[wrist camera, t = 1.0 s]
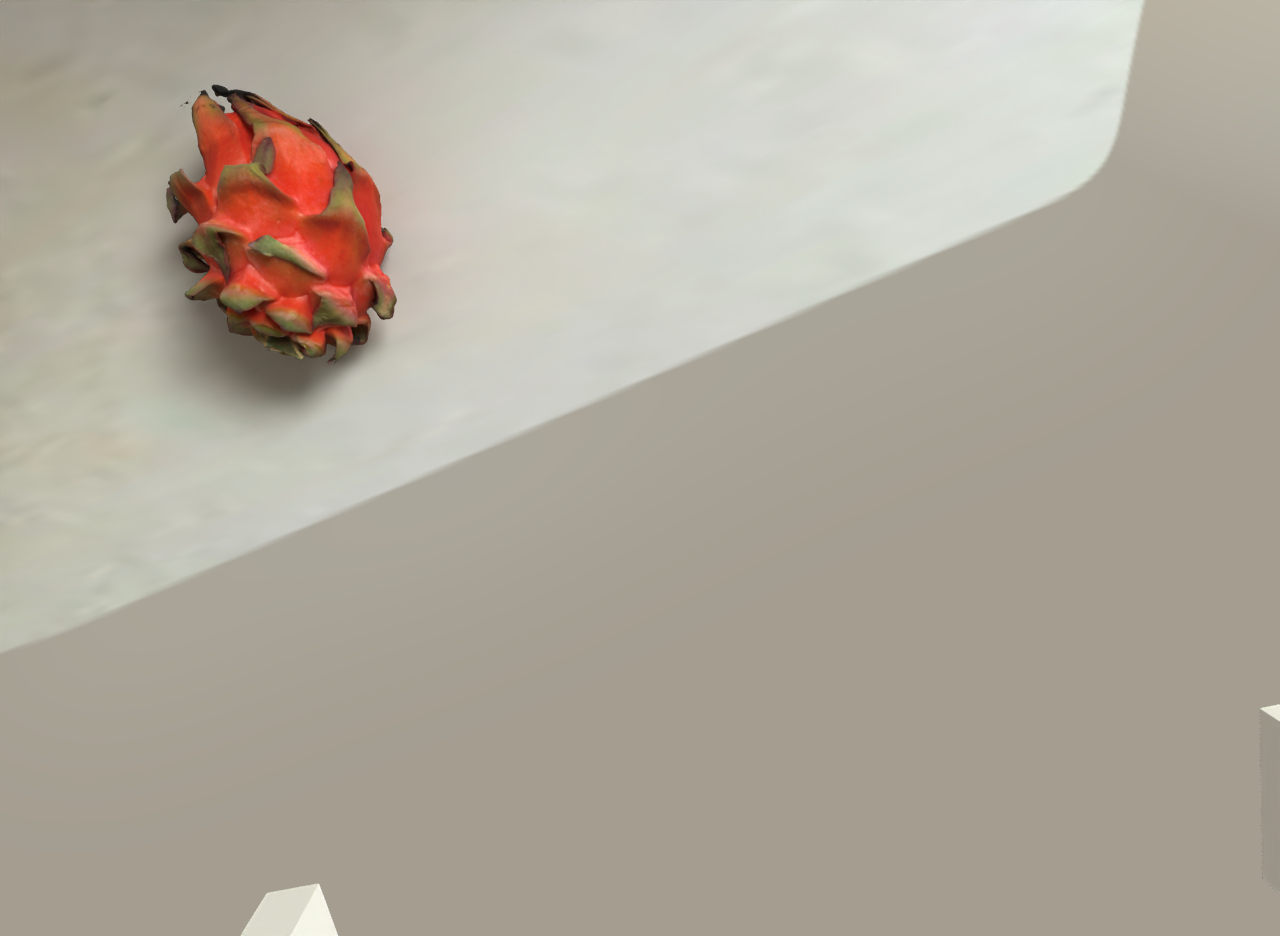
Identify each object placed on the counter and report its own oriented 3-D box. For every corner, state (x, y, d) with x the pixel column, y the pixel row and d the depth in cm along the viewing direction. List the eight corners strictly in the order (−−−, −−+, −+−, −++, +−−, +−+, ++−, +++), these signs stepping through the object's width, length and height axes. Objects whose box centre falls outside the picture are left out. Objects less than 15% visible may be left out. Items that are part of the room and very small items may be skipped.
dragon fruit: (372, 376, 37) (292, 148, 36) (471, 321, 32) (379, 51, 31) (196, 406, 31) (94, 129, 30) (283, 342, 25) (161, 2, 25)
